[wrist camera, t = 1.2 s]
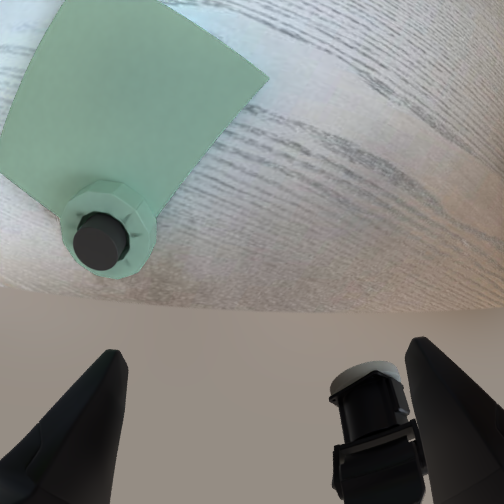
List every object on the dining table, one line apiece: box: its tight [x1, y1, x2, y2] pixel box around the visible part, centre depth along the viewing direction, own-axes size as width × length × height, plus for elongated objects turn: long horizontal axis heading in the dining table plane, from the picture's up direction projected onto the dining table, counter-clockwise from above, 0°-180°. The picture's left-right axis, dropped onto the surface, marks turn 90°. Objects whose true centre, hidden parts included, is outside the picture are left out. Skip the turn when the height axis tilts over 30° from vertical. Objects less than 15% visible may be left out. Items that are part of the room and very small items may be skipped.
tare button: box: [73, 214, 127, 271], centre depth 16 cm, size 3×3×2 cm
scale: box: [0, 0, 270, 279], centre depth 15 cm, size 15×13×3 cm
